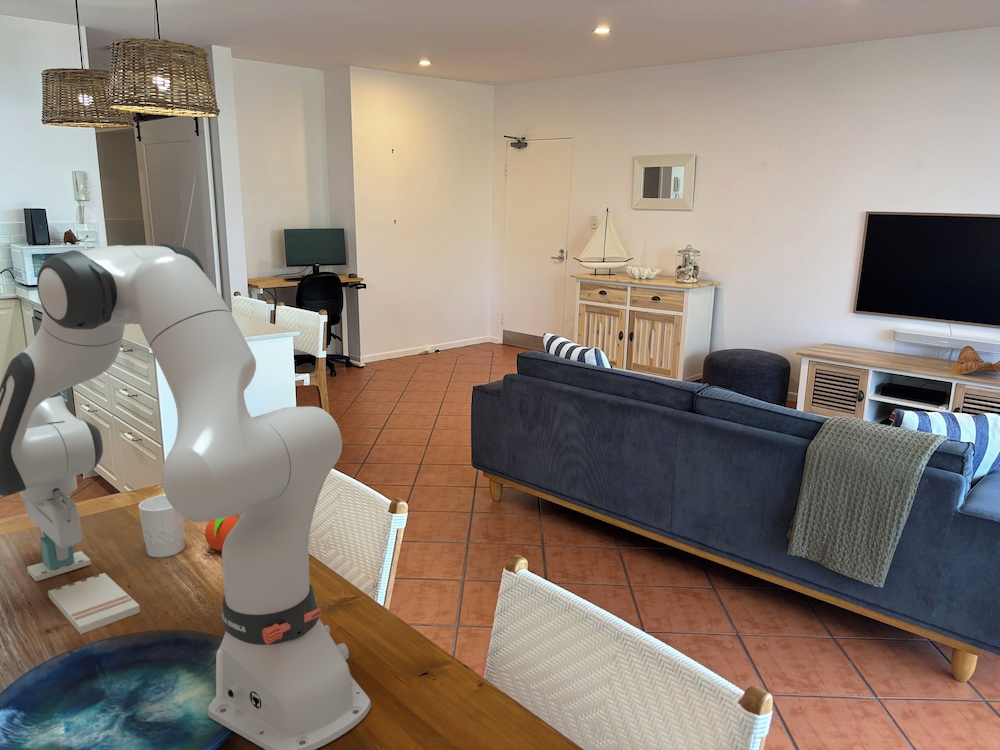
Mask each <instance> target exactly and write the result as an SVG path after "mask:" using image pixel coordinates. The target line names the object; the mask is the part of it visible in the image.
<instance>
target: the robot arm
mask: <svg viewBox="0 0 1000 750" xmlns="http://www.w3.org/2000/svg"><path fill="white" fill-rule="evenodd" d="M200 261H201V260H199V258H198V257H197V256H196V253H194V252H193V251H192V250H191V249H189V248H187V247H184V246H181V245H176V244H175V245H174V244H166V243H160V244H157V245H123V244H122V245H121V244H117V245H108V246H101V247H93V248H89V249H84V250H79V251H78V250H69V251H64V252H61V253H58V254H55V255H52V256H50V257H47V258H46V259H45V260H44V261H43V263H42V265H41V267H40V268H39V270H38V273H37V278H36V279H37V280H36V287H37V294H38V297H39V302H40V305H41V307H42V315H41V316H42V317H41V323H40V326H39V328H38V331H37V332H36V334H35V336H34V337H33V339H32V340H31V341H30V343H29V344H28V345H27V347H25V348H24V350H23V351H21V352H20V353H18V354H17V355H16V356H14V358H12V359H11V360H10V361H9V363H8V366H7V368H6V371H5V373H4V375H3V378H2V381H1V383H0V496H1V497H5V498H7V497H9V496H11V495H15V494H18V493H19V496H20V498H22V501H23V504H24V505H23V506H24V509H25V512H26V514H27V516H28V518H29V519H30V520H31V521H32V522H33V523H34V524H35V525H36V526H37V527H38V528H39V529H40V531H41V534H42V536H43V537H46V536H48V537H49V538H50V539H52V540H53V541H54V543H55V548H56V549H55V550H54V551H55V557H56V558H57V559H58V560H59V561H61V560H64V559H67V558H68V557H69V554H68V547H70V546H72V547H73V546H74V547H75V546H76V545H79V544H81V543H82V540H83V533H82V525H81V519H80V515H79V511H78V507H77V504H76V503H75V501H74V500H72V499H71V493H73V492H74V491H76V490H77V489H78V482H77V481H78V480H77V476H79V475H83V474H85V473H88V472H90V471H93V470H94V469H95V468H97V466H98V465H99V463H100V462H101V459H102V457H103V453H104V445H103V438H102V435H101V432H100V429H99V428H98V427H97V426H95V425H94V424H92V423H90V422H88V421H87V420H84V419H81V418H80V419H79V418H77V417H76V416H74V414H72V413H71V412H70V411H69V409H68V408H67V405H66V402H65V400H64V398H63V396H62V395H59V394H58V393H60V392H62V391H65V390H67V389H69V388H72V387H75V386H77V385H79V384H82V383H84V382H88V381H90V380H93V379H95V378H97V377H98V376H100V375H102V374H103V373H105V372H106V371H107V370H109V368H110V367H111V366H113V364H114V362H115V361H116V359H117V357H118V356H119V353H120V350H121V348H122V343H123V338H124V332H125V328H126V327H125V326H126V325H131V324H132V325H139V326H140V328H141V331H142V334H143V335H144V338H145V340H146V342H147V344H148V346H149V348H150V350H151V352H152V353H153V355H154V357H155V359H156V362H157V363H158V366H159V368H160V370H161V372H162V374H163V377H164V378H165V380H166V382H167V383H166V384H167V385H168V387H169V389H170V391H171V394H172V397H173V399H174V403H175V407H176V408H175V409H176V413H177V416H176V417H177V429H176V436H175V440H174V443H173V445H172V447H171V449H170V450H169V452H168V454H167V456H166V458H165V460H164V463H163V466H162V472H161V473H162V475H161V482H162V488H163V492H164V495H166V497H167V499H168V501H169V502H170V504H171V505H172V507H173V508H174V509H175V510H176V511H177V512H178V513H180V514H181V515H182V516H184V519H185V518H186V519H187V520H189V521H192V522H196V523H199V522H200V523H201V522H207V521H209V522H210V521H211V520H215V519H220V518H225V517H229V516H233V517H235V516H236V515H240V516H239V519H238V521H237V523H236V524H235V526H234V527H233V528H232V529H231V531H230V532H229V534H228V535H227V537H226V539H225V541H224V544H223V548H222V551H221V560H222V561H221V562H222V575H223V586H224V587H223V588H224V596H223V597H222V602H221V618H222V625H223V628H224V630H225V632H224V635H223V638H222V641H221V642H220V645H219V647H218V649H217V652H216V655H215V656H216V657H215V661H216V663H215V664H216V666H215V669H216V671H215V697H214V698H213V699H212V700H211V702H209V705H208V708H207V716H208V718H210V719H211V720H213V721H215V722H217V723H218V724H220V725H222V726H224V727H225V728H227V729H228V730H231V731H232V732H234V733H236V734H237V735H239V736H241V737H243V738H244V739H245V740H247V741H250V742H251V743H254V745H256V746H258V747H260V748H261V749H264V750H317V749H318V748H321V747H324V746H325V745H327V744H329V743H332V742H333V741H335V740H336V739H338V738H340V737H341V736H342V735H343V736H344V735H345V734H346V733H347V732H349V731H350V730H351V729H353V728H354V727H356V726H357V725H358V724H359V723H360V722H362V721H363V719H364V718H365V717H366V716H367V715H368V713H369V712H370V710H371V707H372V703H371V699H370V697H369V696H368V695H367V694H366V692H365V691H364V690H363V689H362V687H361V686H360V685H359V684H358V682H357V681H356V680H355V678H353V676H352V675H351V671H350V668H349V664H348V663H347V661H346V660H348V659H349V655H350V653H349V649H348V645H346V643H345V642H341V643H338V644H336V643H335V641H334V639H333V638H332V636H331V628H330V626H329V625H328V624H326V625H324V623H323V622H322V621H321V619H320V616H321V615H322V614H321V613H320V611H321V610H322V609H321V607H318V603H317V600H318V599H317V598H316V597H317V596H316V594H315V593H314V589H313V586H312V584H311V583H310V561H309V560H310V554H309V553H310V550H309V549H310V547H309V546H310V545H309V544H310V542H309V541H310V532H311V527H312V522H313V517H314V513H315V510H316V506H317V504H318V500H319V497H320V494H321V492H322V489H323V487H324V484H325V482H326V480H327V478H328V476H329V474H330V473H331V471H332V470H333V468H334V466H335V465H336V464H337V463H338V461H339V460H340V457H341V455H342V454H341V453H342V451H343V450H342V449H343V438H342V434H341V430H340V428H339V426H338V423H337V422H336V420H335V419H334V417H333V416H332V415H331V414H330V413H328V412H327V411H326V410H324V409H323V408H321V407H317V406H308V405H307V406H290V407H289V406H288V407H282V408H280V409H279V408H278V409H276V410H273V411H270V412H266V413H262V414H260V415H257V416H251V414H250V412H249V410H248V409H247V405H246V400H245V390H246V389H247V388H248V386H249V385H250V384H251V382H252V381H253V378H255V377H254V376H255V373H256V370H257V362H256V357H255V356H254V354H253V352H252V350H251V348H250V346H249V344H248V343H247V341H246V338H245V336H244V335H243V332H242V331H241V329H240V328H239V326H238V324H237V322H236V320H235V317H233V314H232V313H231V310H230V309H229V307H228V305H227V304H226V302H225V301H224V299H223V297H222V296H221V294H220V293H219V291H218V289H217V288H216V287H215V285H214V284H213V282H212V281H211V280H210V279H209V277H208V276H207V274H206V273H205V272H206V271H205V269H204V266H203V265H202V263H201V262H200Z"/></svg>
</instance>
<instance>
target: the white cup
mask: <svg viewBox="0 0 1000 750" xmlns="http://www.w3.org/2000/svg"><path fill="white" fill-rule="evenodd" d="M138 510H139V516H140V524H141V529H142V531H141V532H142V536H143V540H144V542H145V549H146V553H147V555H148V556H149V557H152V558H160V559H161V558H166V557H171V556H174V555H177V554H179V553H181V552H182V551H183V550H184V548H185V531H186V529H185V517H184V516H182V515H181V514H180V513H178V512H177V511H176V510H175V509H174V508H173V507H172V505H171V504H170V502H169V501H168V499H167V497H166V495H165V494H160V495H156V496H151V497H149V498H146V499H144V500H142V501H141V502H140V503H139V504H138Z"/></svg>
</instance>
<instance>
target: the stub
mask: <svg viewBox="0 0 1000 750" xmlns="http://www.w3.org/2000/svg"><path fill="white" fill-rule="evenodd" d="M39 541H40V548H41V556H42V562H40V563H36V564H33V565H28V566H27V567H26V569H27V573H28V574H29V576H31V578H32V579H33V580H34V581H35V582H39V581H42V580H45V579H49V578H52V577H55V576H59V575H61V574H65V573H68V572H71V571H73V570H78V569H81V568H83V567H88V566H91V565H92V562H91V559H90V558H89V557H88V556H87V555H86V554H85V553H84V552H83V551H82V550H79V551H77V552H74V549H73V546H70V547H68V554H69V557H68V558H67V559H64V560H61V561H59V560H58V559H57V558H56V557H55V551H54V550H55V549H56V548H55V543H54V541H53V540H52V539H50V538H49V537H48V536H46V537H39Z"/></svg>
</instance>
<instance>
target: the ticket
mask: <svg viewBox="0 0 1000 750" xmlns="http://www.w3.org/2000/svg"><path fill="white" fill-rule="evenodd" d="M47 593H48V598H49V599H50V601H51V602H52V603H53V604H54V605H55V606H56V608H57V609H58V610H59V611H60V612H61V613H62V614H63V616H64V617H65V618H66V619H67V620H68V621H69V622H70V624H71V625H72V626H73V627H74V628H75V629H76V631H77V632H78V633H79V634H80V635H83V634H85V633H88V632H90V631H93V630H96V629H99V628H101V627H105V626H107V625H109V624H112V623H115V622H118V621H121V620H122V619H123V620H124V619H126V618H128V617H132V616H134V615H137V614H139V613H141V608H140V604H139V603H137V602H136V600H135V599H133V598H132V597H131V596H130V595H129V594H128V593H127V591H125V590H124V589H123V588H121V587H120V586H119V585H118V583H116V582H115V581H114V580H113V579H112V578H111V577H110V576H109V575H108V574H106V573H105V572H103V573H99V574H97V575H93V576H91V577H87V578H84V579H80V580H78V581H74V582H72V583H69V584H65V585H63V586H59V587H57V588H53V589H50V590H48V591H47Z"/></svg>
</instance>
